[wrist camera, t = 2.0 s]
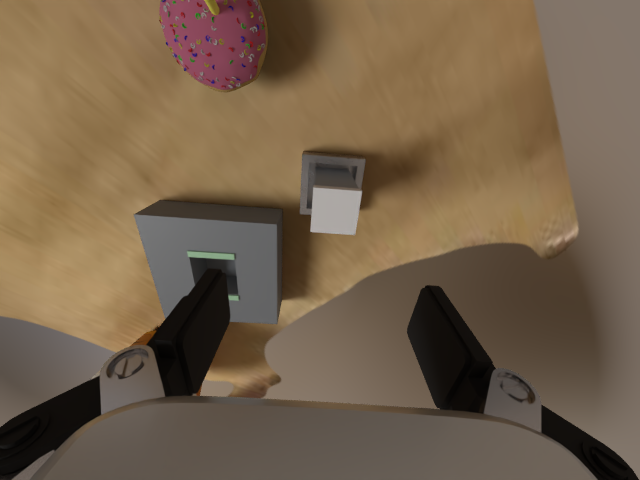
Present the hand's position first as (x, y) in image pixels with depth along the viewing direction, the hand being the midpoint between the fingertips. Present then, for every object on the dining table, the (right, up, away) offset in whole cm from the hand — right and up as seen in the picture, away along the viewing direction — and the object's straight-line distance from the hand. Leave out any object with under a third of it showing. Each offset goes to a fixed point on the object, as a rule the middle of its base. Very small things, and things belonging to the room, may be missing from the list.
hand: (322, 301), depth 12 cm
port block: (-14, +1, +24) cm, 28 cm away
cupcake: (-9, +23, +13) cm, 27 cm away
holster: (+1, +10, +19) cm, 22 cm away
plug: (+1, +10, +18) cm, 21 cm away
